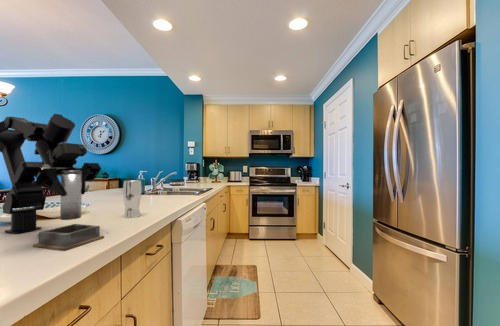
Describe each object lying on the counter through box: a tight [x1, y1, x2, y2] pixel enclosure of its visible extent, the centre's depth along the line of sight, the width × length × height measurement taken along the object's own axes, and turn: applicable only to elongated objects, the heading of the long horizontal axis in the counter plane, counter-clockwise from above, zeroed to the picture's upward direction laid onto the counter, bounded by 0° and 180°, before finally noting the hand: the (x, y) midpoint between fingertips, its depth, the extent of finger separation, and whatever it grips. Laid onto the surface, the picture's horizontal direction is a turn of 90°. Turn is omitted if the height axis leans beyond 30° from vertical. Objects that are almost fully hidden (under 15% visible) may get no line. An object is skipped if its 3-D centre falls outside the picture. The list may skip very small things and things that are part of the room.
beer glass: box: [122, 179, 143, 219], centre depth 98 cm, size 7×7×15 cm
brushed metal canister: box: [59, 171, 83, 221], centre depth 63 cm, size 4×4×13 cm
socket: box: [32, 223, 105, 252], centre depth 63 cm, size 11×11×4 cm
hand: (74, 194), depth 63 cm, fingers closed on brushed metal canister, 4 cm apart
